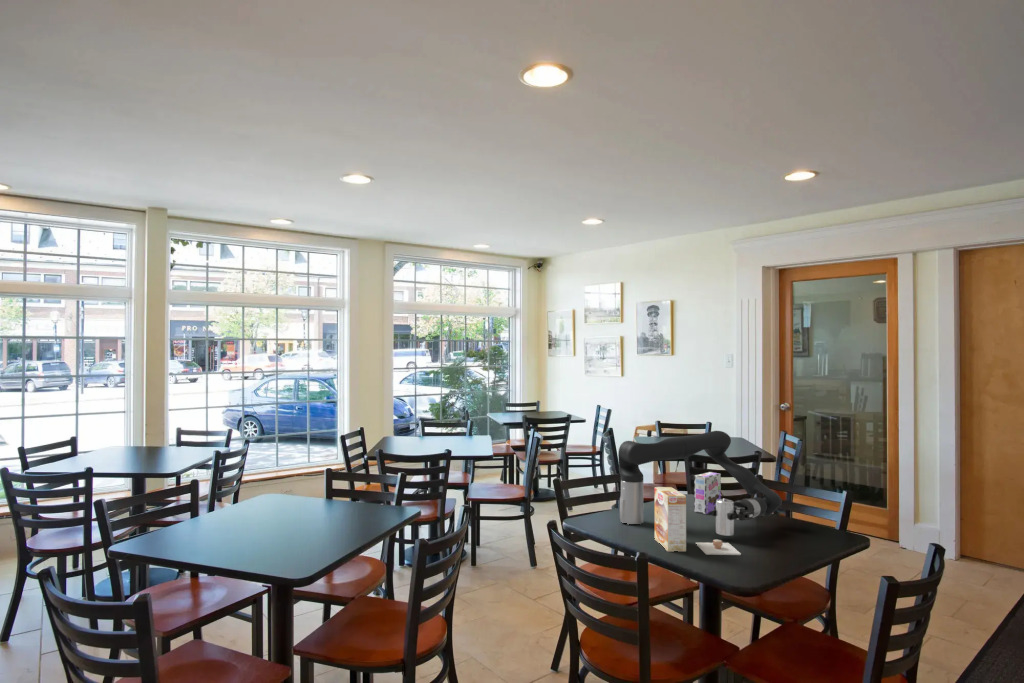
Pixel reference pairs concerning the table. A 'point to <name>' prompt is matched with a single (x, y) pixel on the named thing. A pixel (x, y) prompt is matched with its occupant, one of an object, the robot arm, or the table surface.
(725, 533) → the faceted metal canister
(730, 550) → the white mat
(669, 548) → the coffeecake box
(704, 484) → the candy box
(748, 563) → the table surface
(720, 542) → the terracotta bowl
